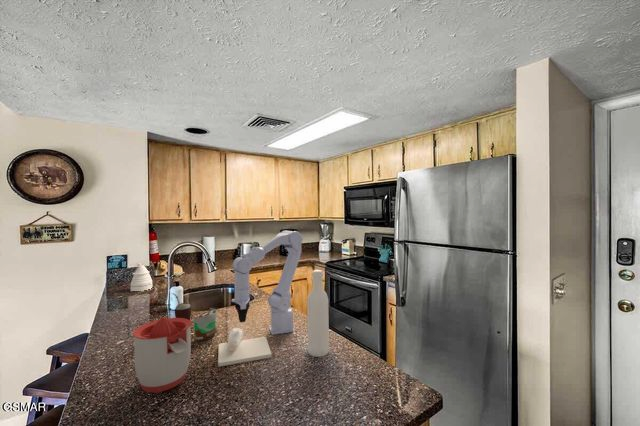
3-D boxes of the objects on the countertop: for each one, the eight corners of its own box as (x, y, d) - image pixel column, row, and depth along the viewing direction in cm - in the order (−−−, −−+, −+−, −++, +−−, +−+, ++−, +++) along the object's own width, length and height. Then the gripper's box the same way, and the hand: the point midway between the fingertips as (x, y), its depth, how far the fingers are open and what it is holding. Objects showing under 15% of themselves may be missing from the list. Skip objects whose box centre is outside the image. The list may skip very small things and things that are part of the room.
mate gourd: (191, 317, 141) (191, 287, 141) (189, 323, 133) (189, 291, 133) (175, 319, 138) (174, 288, 138) (172, 325, 131) (171, 293, 131)
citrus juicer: (154, 408, 75) (153, 333, 75) (123, 387, 84) (122, 320, 84) (206, 378, 88) (205, 314, 88) (174, 363, 97) (173, 305, 97)
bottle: (304, 354, 102) (303, 272, 102) (312, 345, 109) (311, 268, 109) (324, 358, 99) (323, 273, 99) (332, 348, 106) (331, 269, 106)
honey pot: (125, 291, 190) (125, 264, 190) (140, 286, 203) (140, 261, 203) (142, 292, 188) (142, 265, 188) (156, 287, 201) (156, 261, 201)
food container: (207, 343, 112) (206, 318, 112) (193, 342, 113) (192, 317, 113) (223, 331, 124) (223, 308, 124) (210, 330, 125) (210, 307, 125)
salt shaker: (240, 342, 113) (235, 357, 102) (227, 338, 112) (221, 352, 101) (245, 329, 113) (241, 343, 102) (232, 325, 112) (227, 338, 102)
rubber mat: (265, 339, 115) (265, 336, 115) (271, 357, 101) (271, 353, 101) (218, 346, 109) (218, 343, 109) (218, 366, 95) (218, 363, 95)
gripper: (231, 284, 118) (231, 316, 118) (232, 293, 105) (232, 330, 105) (248, 282, 121) (248, 314, 121) (251, 291, 107) (251, 327, 107)
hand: (242, 321), depth 113 cm, fingers closed
